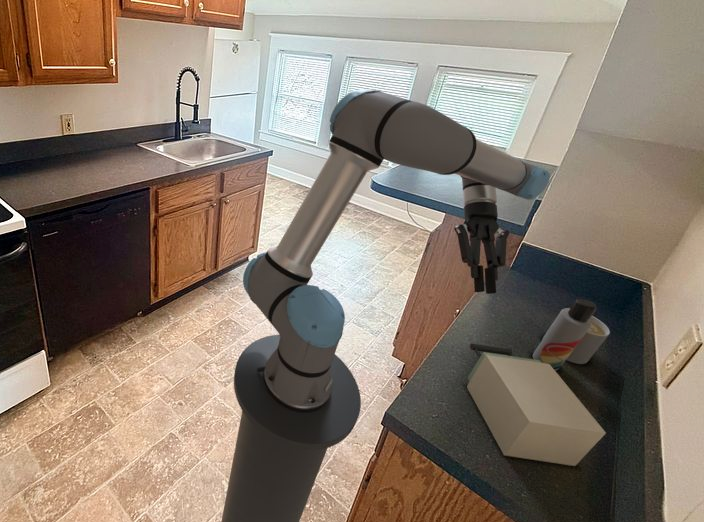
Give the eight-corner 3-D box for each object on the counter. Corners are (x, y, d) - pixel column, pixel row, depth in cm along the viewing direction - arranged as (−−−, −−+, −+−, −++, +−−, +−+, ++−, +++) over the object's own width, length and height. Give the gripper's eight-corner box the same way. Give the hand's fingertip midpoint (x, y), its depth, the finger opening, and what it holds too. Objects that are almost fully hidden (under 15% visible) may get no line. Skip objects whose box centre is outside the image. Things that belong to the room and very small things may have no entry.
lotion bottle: (555, 375, 94) (601, 314, 84) (529, 360, 97) (570, 300, 88) (560, 364, 97) (605, 304, 88) (534, 349, 101) (575, 291, 91)
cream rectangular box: (466, 386, 88) (485, 354, 83) (526, 395, 87) (549, 363, 82) (503, 455, 74) (529, 421, 69) (575, 466, 74) (606, 433, 69)
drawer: (455, 357, 94) (469, 331, 90) (505, 364, 94) (522, 338, 90) (501, 439, 76) (521, 411, 72) (564, 448, 76) (588, 421, 72)
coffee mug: (587, 370, 96) (610, 342, 91) (540, 348, 102) (559, 320, 97) (588, 343, 105) (609, 316, 100) (545, 323, 111) (563, 297, 106)
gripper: (498, 212, 106) (505, 297, 99) (443, 205, 106) (446, 289, 100) (518, 204, 99) (527, 295, 92) (459, 196, 99) (463, 286, 92)
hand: (485, 292), depth 96 cm, fingers open, 2 cm apart
